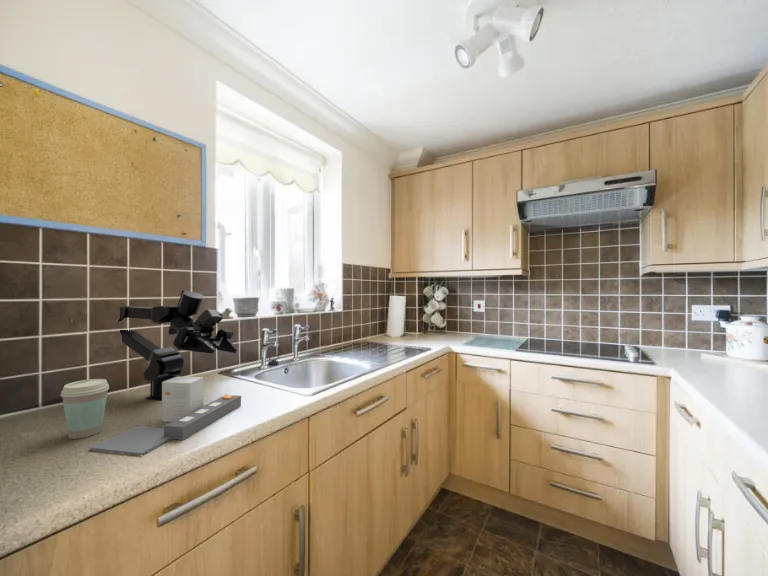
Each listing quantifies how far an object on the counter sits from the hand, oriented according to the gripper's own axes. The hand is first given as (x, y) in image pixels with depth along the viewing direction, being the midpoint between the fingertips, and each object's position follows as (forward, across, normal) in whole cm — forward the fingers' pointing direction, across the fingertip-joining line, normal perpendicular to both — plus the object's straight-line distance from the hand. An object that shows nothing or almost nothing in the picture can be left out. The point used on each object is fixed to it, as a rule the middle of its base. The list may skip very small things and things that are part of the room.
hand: (225, 351), depth 94 cm
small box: (+4, -7, +18) cm, 20 cm away
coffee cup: (-9, -20, +26) cm, 34 cm away
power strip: (+10, -7, +15) cm, 19 cm away
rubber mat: (+6, -20, +19) cm, 28 cm away
